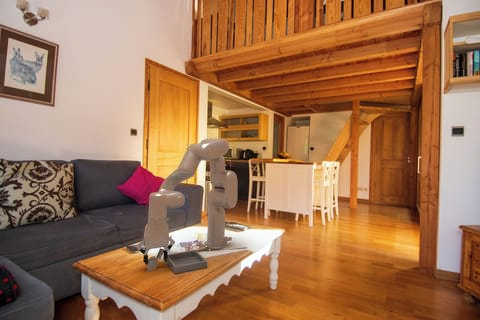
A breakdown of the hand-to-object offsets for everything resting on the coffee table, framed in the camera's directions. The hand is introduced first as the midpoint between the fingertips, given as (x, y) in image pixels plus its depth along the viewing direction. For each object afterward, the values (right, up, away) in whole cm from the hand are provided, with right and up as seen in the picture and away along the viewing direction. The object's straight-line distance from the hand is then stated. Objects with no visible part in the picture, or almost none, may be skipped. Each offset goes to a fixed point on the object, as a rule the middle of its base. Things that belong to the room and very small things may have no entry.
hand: (155, 261), depth 109 cm
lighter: (0, -3, 0) cm, 3 cm away
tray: (+12, -3, +5) cm, 13 cm away
